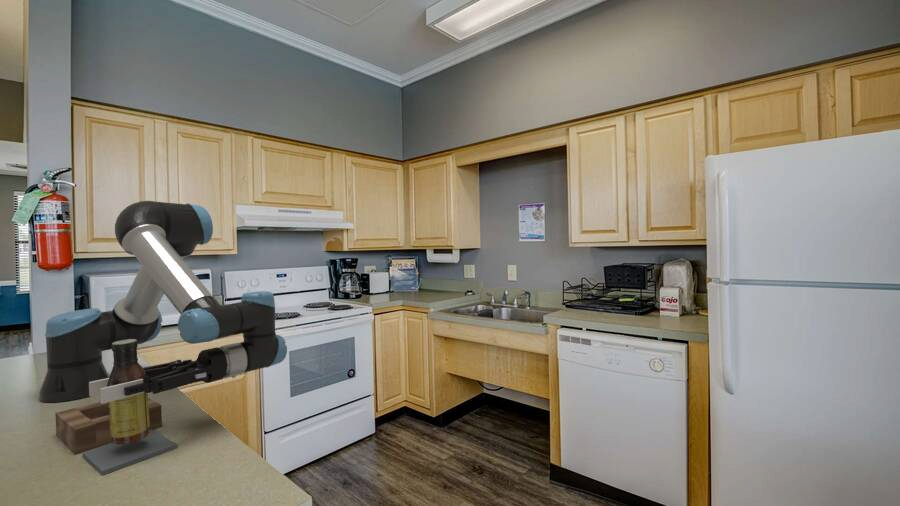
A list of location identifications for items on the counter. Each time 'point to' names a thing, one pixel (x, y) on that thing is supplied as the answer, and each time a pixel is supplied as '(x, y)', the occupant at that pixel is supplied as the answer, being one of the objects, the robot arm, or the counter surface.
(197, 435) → the counter surface
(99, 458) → the mat
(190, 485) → the counter surface
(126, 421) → the sauce bottle
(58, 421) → the rectangular frame
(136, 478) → the counter surface
